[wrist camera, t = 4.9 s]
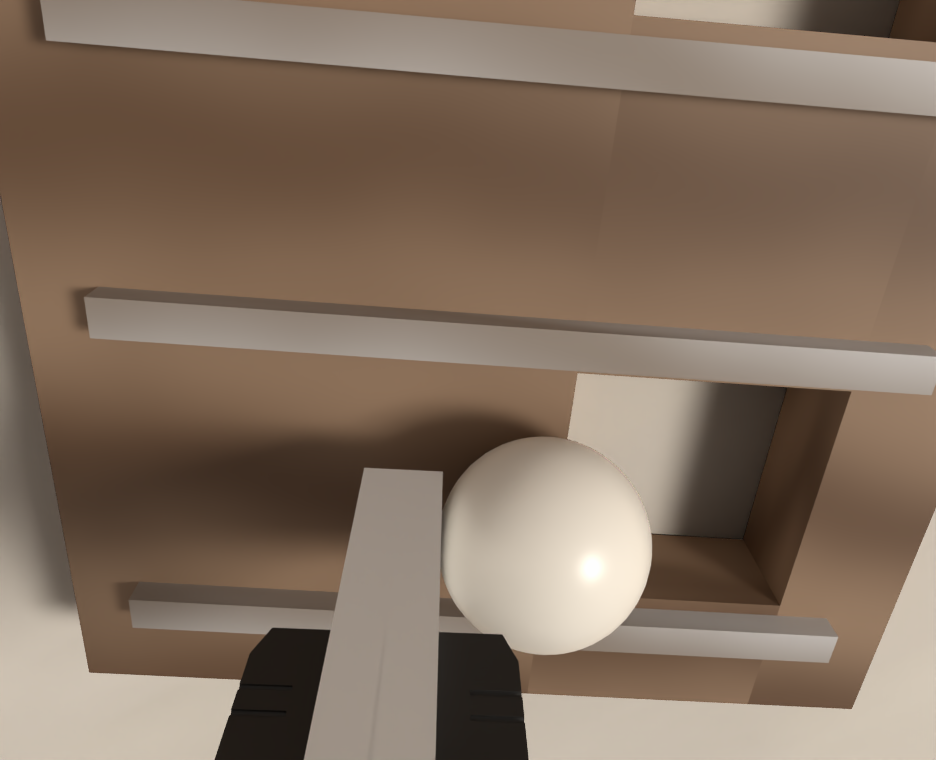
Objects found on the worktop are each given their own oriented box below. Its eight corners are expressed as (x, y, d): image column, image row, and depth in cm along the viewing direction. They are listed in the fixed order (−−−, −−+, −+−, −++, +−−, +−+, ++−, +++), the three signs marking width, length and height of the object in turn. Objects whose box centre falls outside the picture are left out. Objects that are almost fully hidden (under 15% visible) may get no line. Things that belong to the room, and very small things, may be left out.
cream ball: (395, 615, 15) (531, 537, 17) (542, 746, 12) (677, 631, 15) (393, 442, 13) (543, 383, 16) (563, 549, 11) (712, 458, 13)
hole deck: (809, 636, 21) (863, 729, 18) (130, 600, 20) (77, 692, 17) (1255, -594, 11) (1530, -811, 8) (-69, -769, 10) (-273, -1080, 7)
